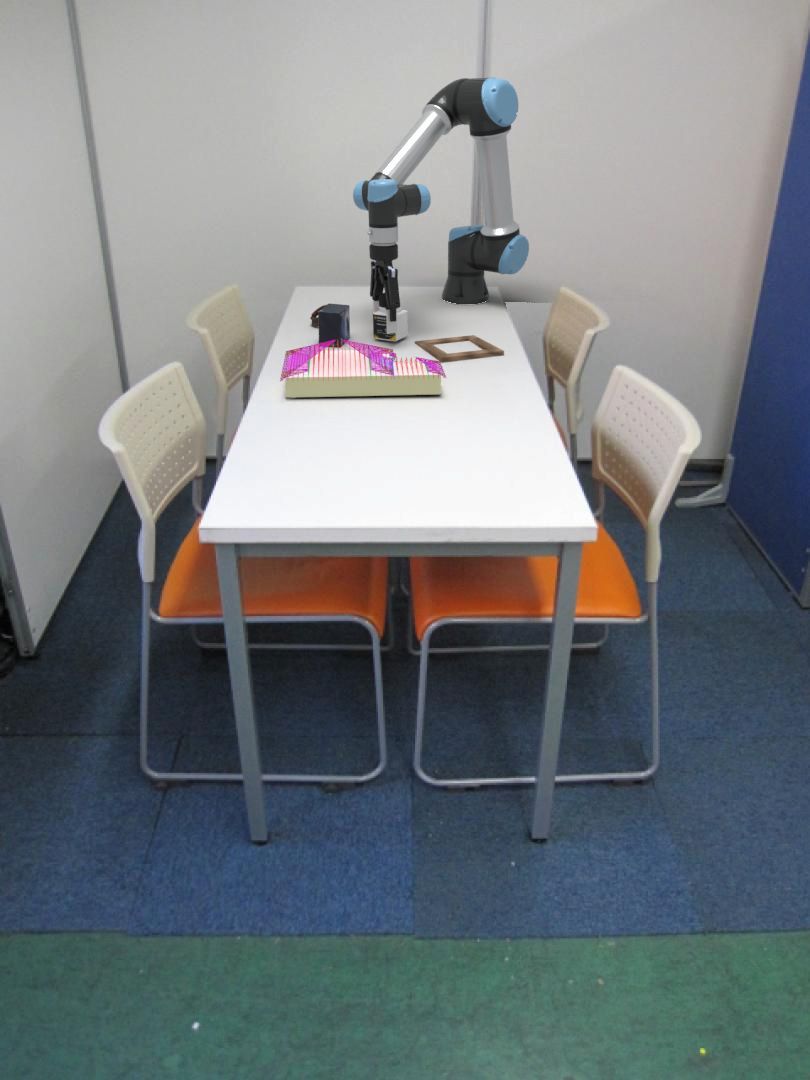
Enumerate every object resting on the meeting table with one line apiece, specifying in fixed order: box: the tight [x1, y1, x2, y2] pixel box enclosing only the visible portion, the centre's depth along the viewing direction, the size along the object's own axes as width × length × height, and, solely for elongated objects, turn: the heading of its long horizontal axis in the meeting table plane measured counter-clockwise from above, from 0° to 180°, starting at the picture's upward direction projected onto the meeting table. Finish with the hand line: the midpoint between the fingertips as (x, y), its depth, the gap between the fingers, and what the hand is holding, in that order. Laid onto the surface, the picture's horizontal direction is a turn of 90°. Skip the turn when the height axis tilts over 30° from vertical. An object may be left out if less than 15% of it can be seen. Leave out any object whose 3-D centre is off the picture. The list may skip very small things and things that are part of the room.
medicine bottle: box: [372, 292, 409, 342], centre depth 239 cm, size 7×7×12 cm
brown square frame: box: [414, 334, 505, 364], centre depth 235 cm, size 18×18×2 cm
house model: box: [279, 340, 447, 398], centre depth 210 cm, size 38×25×10 cm
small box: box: [317, 303, 351, 349], centre depth 238 cm, size 11×6×10 cm, turn 168°
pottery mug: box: [309, 304, 327, 328], centre depth 255 cm, size 12×9×8 cm
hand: (385, 328), depth 240 cm, fingers closed on medicine bottle, 9 cm apart
